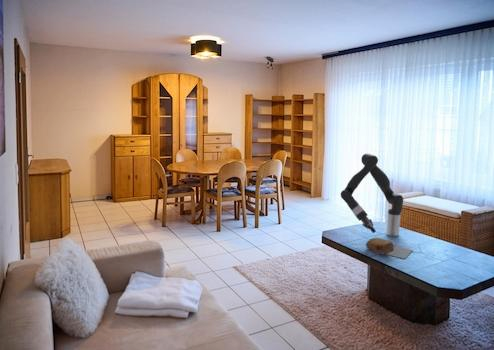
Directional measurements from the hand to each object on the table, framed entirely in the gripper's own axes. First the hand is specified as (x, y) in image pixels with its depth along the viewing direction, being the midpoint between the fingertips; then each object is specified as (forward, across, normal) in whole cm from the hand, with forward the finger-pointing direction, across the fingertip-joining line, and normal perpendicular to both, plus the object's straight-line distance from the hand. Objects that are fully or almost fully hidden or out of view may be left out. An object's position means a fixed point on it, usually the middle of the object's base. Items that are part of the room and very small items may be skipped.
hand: (374, 232), depth 293 cm
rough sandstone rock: (+5, -4, +6) cm, 9 cm away
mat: (+18, -1, -3) cm, 19 cm away
